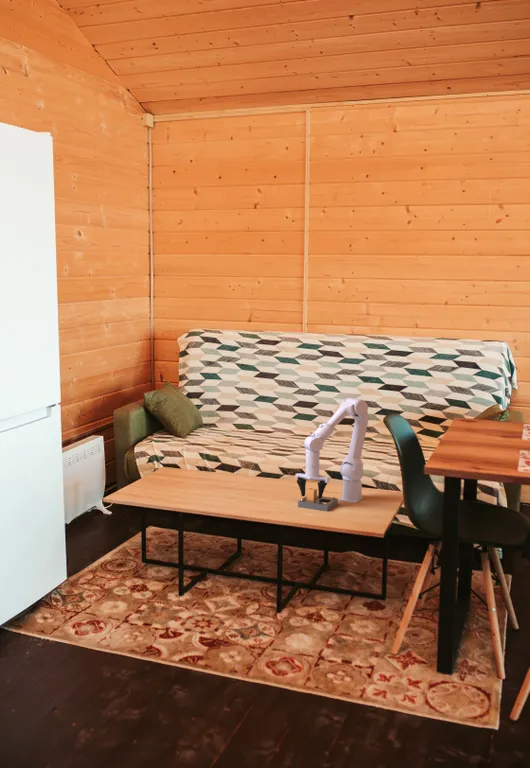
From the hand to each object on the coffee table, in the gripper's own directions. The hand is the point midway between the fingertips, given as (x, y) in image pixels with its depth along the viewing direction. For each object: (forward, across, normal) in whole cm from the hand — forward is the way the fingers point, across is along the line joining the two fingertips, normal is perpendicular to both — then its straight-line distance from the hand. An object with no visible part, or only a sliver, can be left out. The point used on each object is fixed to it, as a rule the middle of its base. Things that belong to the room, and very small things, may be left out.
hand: (311, 497), depth 324 cm
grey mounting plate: (+3, +3, 0) cm, 4 cm away
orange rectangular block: (+3, 0, 0) cm, 3 cm away
